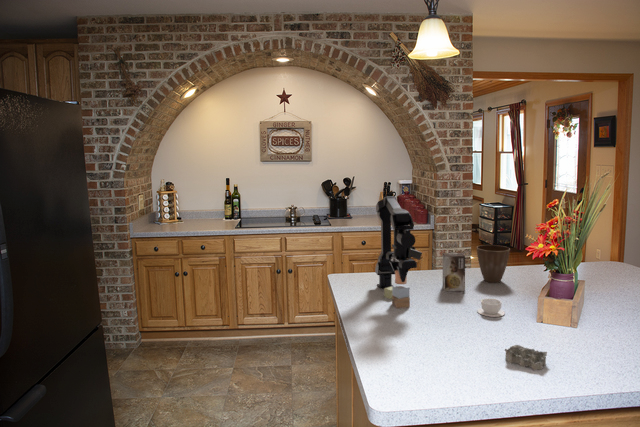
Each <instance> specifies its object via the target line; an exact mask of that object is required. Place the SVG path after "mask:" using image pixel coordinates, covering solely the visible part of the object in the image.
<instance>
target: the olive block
mask: <svg viewBox="0 0 640 427" xmlns="http://www.w3.org/2000/svg"><path fill="white" fill-rule="evenodd" d="M383 291H384V293H383V294H384V296H383V297H384V298H386V299H388V300H392V287H387V288H384V290H383Z"/></svg>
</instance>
